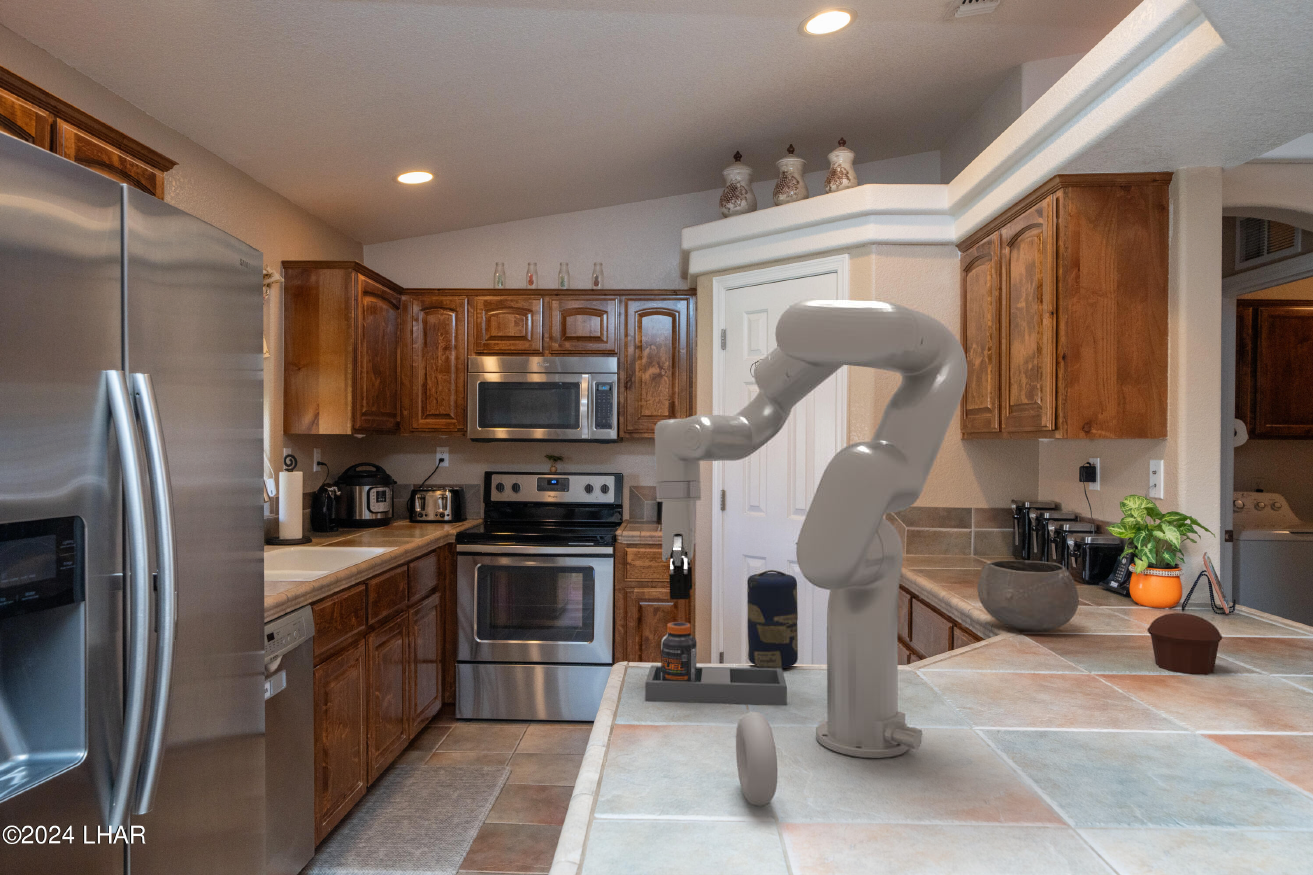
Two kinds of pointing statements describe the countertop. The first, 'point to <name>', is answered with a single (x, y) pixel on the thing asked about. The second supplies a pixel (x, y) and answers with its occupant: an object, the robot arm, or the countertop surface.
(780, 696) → the frame
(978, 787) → the countertop surface
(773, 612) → the canister
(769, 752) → the donut
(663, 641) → the pill bottle
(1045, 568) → the clay pot
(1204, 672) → the muffin
